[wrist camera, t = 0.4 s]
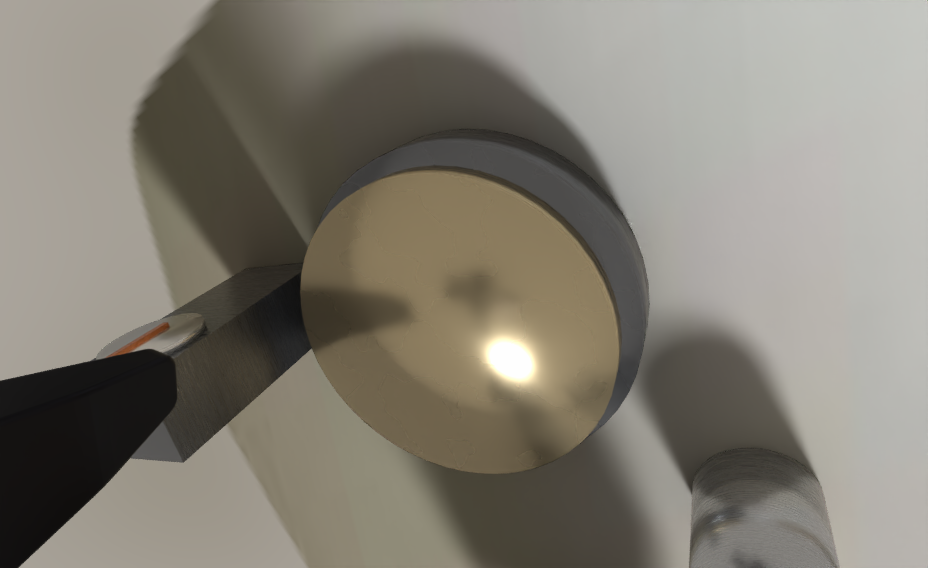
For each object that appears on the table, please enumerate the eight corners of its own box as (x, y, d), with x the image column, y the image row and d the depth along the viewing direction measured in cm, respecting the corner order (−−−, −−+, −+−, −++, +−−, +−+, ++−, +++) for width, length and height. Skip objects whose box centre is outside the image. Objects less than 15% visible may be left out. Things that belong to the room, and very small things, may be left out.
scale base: (668, 432, 22) (644, 661, 15) (304, 420, 29) (163, 568, 22) (623, 95, 18) (556, 172, 10) (208, 178, 25) (-11, 259, 17)
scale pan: (643, 464, 20) (640, 484, 19) (367, 448, 25) (355, 464, 24) (591, 136, 16) (585, 143, 15) (274, 191, 21) (256, 200, 20)
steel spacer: (825, 546, 22) (852, 678, 18) (697, 533, 24) (695, 650, 19) (823, 450, 20) (852, 570, 16) (687, 445, 22) (681, 551, 18)
